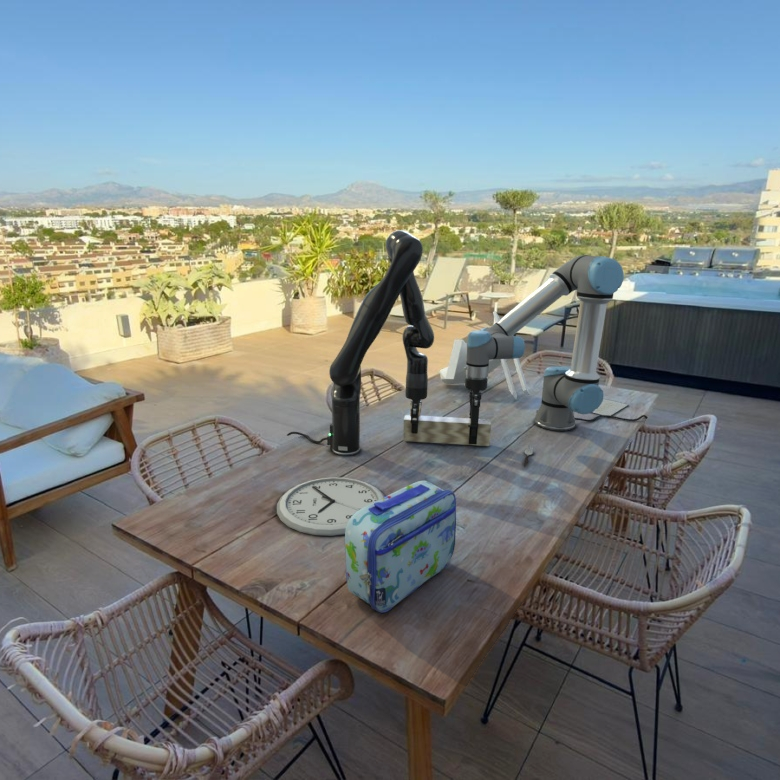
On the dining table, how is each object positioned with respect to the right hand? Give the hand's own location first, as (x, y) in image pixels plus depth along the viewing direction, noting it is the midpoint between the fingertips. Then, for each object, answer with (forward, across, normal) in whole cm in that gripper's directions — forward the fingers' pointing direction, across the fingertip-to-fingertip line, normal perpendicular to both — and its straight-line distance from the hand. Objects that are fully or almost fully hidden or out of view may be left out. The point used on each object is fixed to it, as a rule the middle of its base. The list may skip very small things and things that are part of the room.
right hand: (472, 440), depth 184 cm
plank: (+1, 0, -9) cm, 9 cm away
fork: (+2, +9, +18) cm, 20 cm away
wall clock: (+2, +48, -39) cm, 62 cm away
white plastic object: (+2, -63, +5) cm, 63 cm away
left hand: (-3, 0, -20) cm, 20 cm away
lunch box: (+2, +78, -17) cm, 80 cm away
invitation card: (+2, -51, +57) cm, 76 cm away
